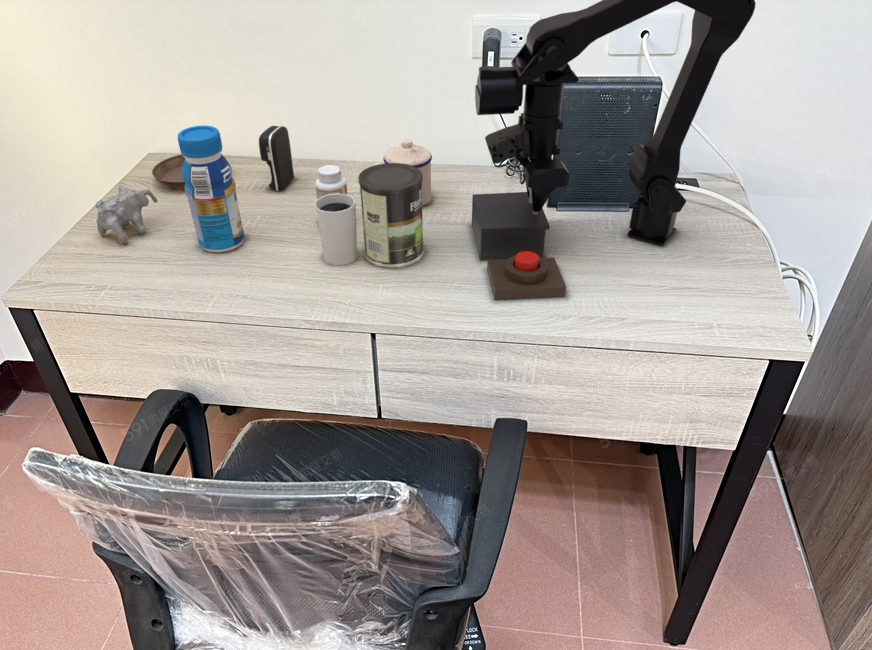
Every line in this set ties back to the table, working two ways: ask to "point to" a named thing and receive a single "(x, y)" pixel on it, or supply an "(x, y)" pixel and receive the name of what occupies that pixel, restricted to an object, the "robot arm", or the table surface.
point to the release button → (526, 261)
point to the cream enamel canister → (413, 163)
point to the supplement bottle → (330, 181)
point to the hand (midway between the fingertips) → (533, 204)
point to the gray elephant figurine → (122, 212)
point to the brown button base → (525, 280)
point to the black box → (506, 241)
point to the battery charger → (277, 156)
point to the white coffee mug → (337, 228)
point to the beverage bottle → (210, 189)
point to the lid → (508, 212)
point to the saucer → (170, 172)
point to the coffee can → (392, 214)
